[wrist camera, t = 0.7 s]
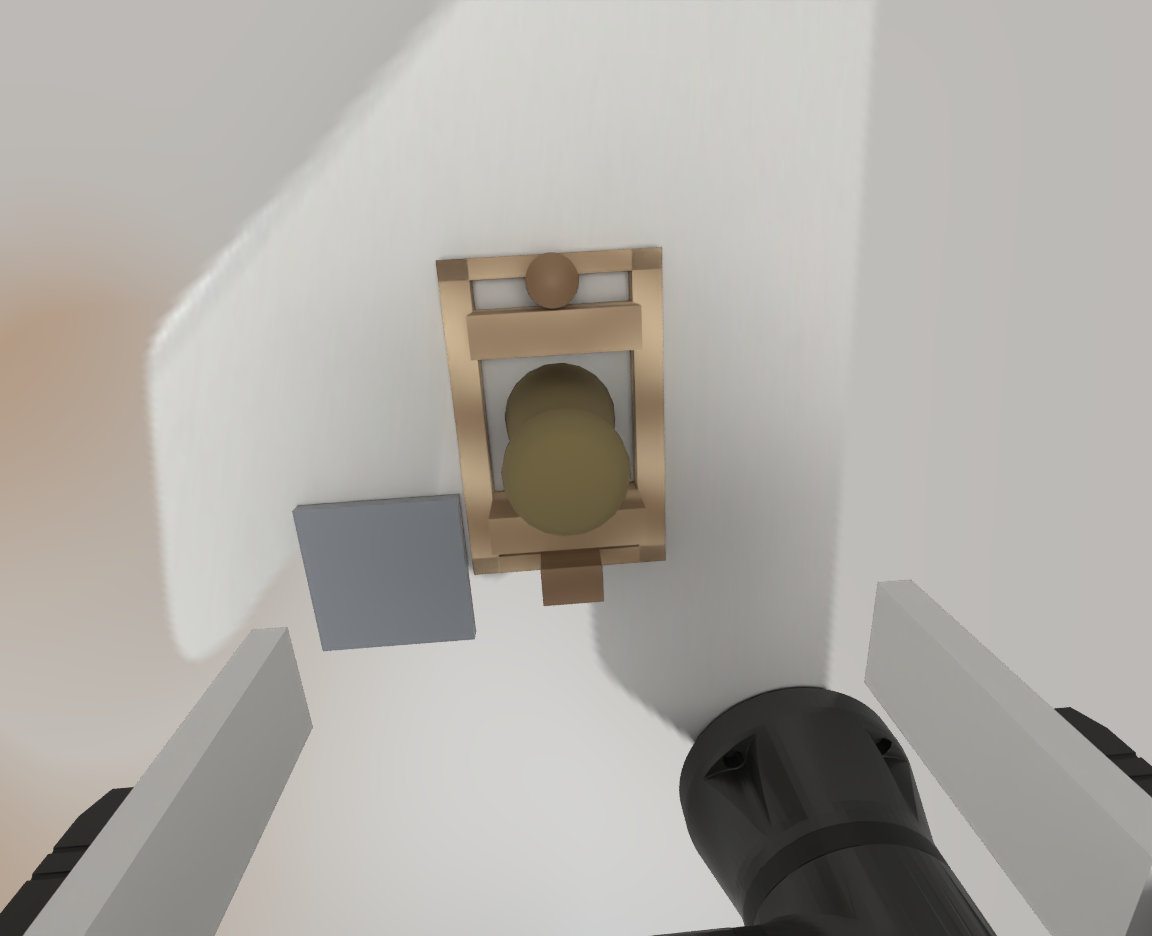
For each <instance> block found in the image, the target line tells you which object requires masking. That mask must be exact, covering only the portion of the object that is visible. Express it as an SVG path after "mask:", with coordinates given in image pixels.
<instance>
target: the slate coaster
mask: <svg viewBox="0 0 1152 936" xmlns="http://www.w3.org/2000/svg"><path fill="white" fill-rule="evenodd" d="M292 512H293V517H294V522H295V526H296V531H297V535H298V540H299V544H300V549H301V553H302V558H303V563H304V567H305V571H306V576H307V581H308V585H309V590H310V595H311V599H312V603H313V608H314V612H315V617H316V622H317V627H318V631H319V636H320V640H321V645H322V649H323V651H331V650H343V649H356V648H369V647H382V646H395V645H407V644H420V643H432V642H444V641H445V642H446V641H458V640H471V639H475V634H476V628H475V621H474V612H473V604H472V596H471V588H470V580H469V572H468V564H467V556H466V548H465V540H464V532H463V524H462V516H461V508H460V500H459V494H455V495H441V496H427V497H413V498H399V499H385V500H371V501H357V502H343V503H329V504H315V505H301V506H297V507H296V508H295V509H294V510H293V511H292Z"/></svg>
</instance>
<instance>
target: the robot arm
mask: <svg viewBox="0 0 1152 936" xmlns="http://www.w3.org/2000/svg"><path fill="white" fill-rule="evenodd" d="M865 684H866V685H867V686H868V688H869V689H870V691H871V692H872V693H873V695H874V696H875V697H876V699H877V700H878V701H879V703H880V704H881V705H882V707H883V708H884V709H885V711H886V712H887V713H888V715H889V716H890V717H891V719H892V720H893V722H894V723H895V724H896V726H897V727H898V728H899V730H900V731H901V732H902V734H903V735H904V737H905V738H906V739H907V741H908V742H909V743H910V745H911V746H912V747H913V749H914V750H915V751H916V753H917V754H918V755H919V757H920V758H921V759H922V761H923V762H924V764H925V765H926V766H927V768H928V769H929V770H930V772H931V773H932V774H933V776H934V777H935V778H936V780H937V781H938V783H939V784H940V785H941V787H942V788H943V789H944V791H945V792H946V793H947V795H948V796H949V797H950V799H951V800H952V801H953V803H954V804H955V806H956V807H957V808H958V810H959V811H960V812H961V814H962V815H963V816H964V818H965V819H966V820H967V821H968V823H969V824H970V826H971V827H972V829H973V830H974V831H975V833H976V834H977V835H978V836H979V838H980V839H981V841H982V842H983V843H984V845H985V846H986V847H987V849H988V850H989V852H990V853H991V854H992V856H993V857H994V858H995V859H996V861H997V862H998V864H999V865H1000V866H1001V868H1002V869H1003V870H1004V872H1005V873H1006V874H1007V876H1008V877H1009V878H1010V880H1011V881H1012V883H1013V884H1014V885H1015V887H1016V888H1017V889H1018V891H1019V892H1020V893H1021V895H1022V896H1023V897H1024V899H1025V900H1026V901H1027V903H1028V904H1029V905H1030V907H1031V908H1032V910H1033V911H1034V912H1035V914H1036V915H1037V916H1038V918H1039V919H1040V920H1041V922H1042V923H1043V925H1044V926H1045V927H1046V929H1047V930H1048V931H1049V933H1050V934H1051V935H1052V936H1152V766H1151V765H1150V764H1148V763H1147V762H1146V761H1145V760H1144V759H1143V758H1138V757H1137V756H1136V752H1134V751H1133V750H1132V749H1131V748H1130V747H1128V746H1127V745H1126V744H1125V743H1124V742H1123V741H1122V740H1120V739H1119V738H1118V737H1117V736H1116V735H1115V734H1113V733H1112V732H1111V731H1110V730H1109V729H1108V728H1106V727H1104V726H1103V725H1101V724H1099V723H1097V722H1096V721H1094V720H1092V719H1090V718H1089V717H1087V716H1085V715H1083V714H1082V713H1080V712H1078V711H1076V710H1074V709H1072V708H1071V707H1067V708H1055V709H1053V708H1052V707H1051V706H1050V705H1049V704H1048V703H1047V702H1045V701H1044V700H1043V699H1042V698H1041V697H1040V696H1039V695H1038V694H1037V693H1036V692H1034V691H1033V690H1032V689H1031V688H1030V687H1029V686H1028V685H1027V684H1026V683H1025V682H1023V681H1022V680H1021V679H1020V678H1019V677H1018V676H1017V675H1016V674H1015V673H1013V672H1012V671H1011V670H1010V669H1009V668H1008V667H1007V666H1006V665H1004V663H1002V662H1001V661H1000V660H999V659H998V658H997V657H996V656H995V655H994V654H993V653H991V652H990V651H989V650H988V649H987V648H986V647H985V646H984V645H982V644H981V643H980V642H979V641H978V640H977V639H976V638H975V637H974V636H972V634H970V633H969V632H968V631H967V630H966V629H965V628H964V627H963V626H962V625H960V624H959V623H958V622H957V621H956V620H955V619H954V618H953V617H951V615H949V614H948V613H947V612H946V611H945V610H944V609H942V607H941V606H940V605H938V604H937V603H936V602H935V601H934V600H933V599H932V598H931V597H929V596H928V595H927V594H926V593H925V592H924V591H923V590H922V589H921V588H920V587H919V586H917V585H916V584H915V583H914V582H913V581H912V580H901V581H888V582H878V584H877V592H876V599H875V607H874V614H873V622H872V629H871V637H870V644H869V652H868V659H867V667H866V674H865ZM312 728H313V726H312V722H311V718H310V714H309V710H308V706H307V702H306V698H305V695H304V690H303V686H302V682H301V678H300V674H299V671H298V666H297V663H296V659H295V655H294V651H293V647H292V643H291V639H290V635H289V631H288V627H281V628H267V629H254V630H251V632H250V633H249V634H248V636H247V637H246V638H245V640H244V641H243V642H242V644H241V645H240V646H239V648H238V649H237V650H236V652H235V653H234V654H233V656H232V657H231V658H230V660H229V661H228V662H227V664H226V665H225V666H224V668H223V669H222V670H221V672H220V673H219V674H218V676H217V677H216V678H215V680H214V681H213V682H212V684H211V685H210V686H209V688H208V689H207V690H206V692H205V693H204V694H203V696H202V697H201V698H200V700H199V701H198V702H197V704H196V705H195V706H194V708H193V709H192V710H191V712H190V713H189V715H188V716H187V717H186V718H185V720H184V721H183V722H182V724H181V725H180V726H179V728H178V729H177V730H176V732H175V733H174V734H173V736H172V737H171V738H170V740H169V741H168V742H167V744H166V745H165V746H164V748H163V749H162V751H161V752H160V753H159V755H158V756H157V757H156V758H155V760H154V761H153V763H152V764H151V765H150V766H149V768H148V769H147V770H146V772H145V773H144V775H143V776H142V777H141V778H140V780H139V781H138V782H137V784H136V785H135V786H134V787H130V788H120V789H119V788H118V789H112V790H111V791H109V792H108V793H107V794H106V795H104V796H103V797H102V798H101V799H100V800H98V801H97V802H96V803H95V804H93V805H92V806H91V807H90V808H88V809H87V810H86V811H85V812H84V813H82V814H81V815H80V816H79V817H78V818H77V819H76V820H75V822H74V823H73V824H72V825H71V827H70V828H69V829H68V830H67V831H66V833H65V834H64V835H63V837H62V838H61V839H60V840H59V841H58V843H57V844H56V845H55V846H54V848H53V849H54V850H53V852H52V854H48V855H47V856H46V858H45V859H44V860H43V861H42V862H41V864H40V865H39V866H38V867H37V869H36V870H35V871H34V872H33V874H32V879H31V880H30V881H26V882H25V884H24V885H23V886H22V887H21V889H20V890H19V891H18V893H16V895H15V896H14V897H13V898H12V900H11V901H10V902H9V903H8V905H7V906H6V907H5V908H4V910H3V911H2V912H1V913H0V936H215V934H216V931H217V929H218V927H219V925H220V923H221V921H222V919H223V917H224V914H225V912H226V910H227V908H228V906H229V904H230V902H231V900H232V897H233V895H234V893H235V891H236V889H237V887H238V885H239V883H240V880H241V878H242V876H243V874H244V872H245V870H246V868H247V866H248V863H249V861H250V859H251V857H252V855H253V853H254V851H255V849H256V846H257V844H258V842H259V840H260V838H261V836H262V834H263V832H264V829H265V827H266V825H267V823H268V821H269V819H270V817H271V815H272V812H273V810H274V808H275V806H276V804H277V802H278V800H279V798H280V796H281V794H282V791H283V789H284V787H285V785H286V783H287V781H288V779H289V777H290V774H291V772H292V770H293V768H294V766H295V764H296V762H297V759H298V757H299V755H300V753H301V751H302V749H303V747H304V745H305V742H306V740H307V738H308V736H309V734H310V732H311V730H312ZM679 791H680V801H681V805H682V809H683V813H684V817H685V821H686V824H687V828H688V832H689V835H690V837H691V839H692V842H693V844H694V846H695V848H696V849H697V851H698V853H699V854H700V856H701V857H702V859H703V860H704V862H705V863H706V865H707V866H708V868H709V869H710V871H711V872H712V874H713V875H714V877H715V878H716V880H717V881H718V883H719V884H720V885H721V887H722V889H723V890H724V891H725V893H726V894H727V896H728V897H729V899H730V900H731V902H732V903H733V905H734V906H735V907H736V909H737V911H738V912H739V914H740V915H741V917H742V919H743V922H744V925H745V926H744V927H736V928H719V929H710V930H701V931H691V932H682V933H673V934H664V935H654V936H997V935H996V934H995V932H994V931H993V929H992V928H991V926H990V925H989V923H988V922H987V921H986V919H985V918H984V916H983V915H982V913H981V912H980V910H979V909H978V907H977V906H976V905H975V903H974V902H973V900H972V899H971V897H970V896H969V894H968V893H967V891H966V890H965V889H964V887H963V886H962V884H961V883H960V881H959V880H958V878H957V877H956V876H955V874H954V873H953V871H952V870H951V868H950V867H949V866H948V864H947V862H946V861H945V859H944V858H943V856H942V855H941V854H940V852H939V850H938V849H937V847H936V846H935V844H934V842H933V839H932V836H931V832H930V829H929V826H928V822H927V819H926V816H925V812H924V809H923V806H922V802H921V799H920V796H919V792H918V789H917V786H916V782H915V779H914V776H913V772H912V769H911V766H910V763H909V760H908V758H907V756H906V754H905V752H904V750H903V748H902V747H901V745H900V744H899V742H898V741H897V739H896V738H895V737H894V736H893V734H892V733H891V731H890V730H889V729H888V727H887V726H886V725H885V723H884V722H883V721H882V720H881V718H880V717H879V716H878V715H877V714H876V713H875V712H874V711H873V710H871V709H870V708H869V707H868V706H866V705H865V704H863V703H862V702H860V701H858V700H856V699H854V698H852V697H850V696H847V695H845V694H842V693H839V692H835V691H831V690H825V689H817V688H793V689H785V690H779V691H774V692H770V693H767V694H763V695H760V696H757V697H755V698H752V699H750V700H747V701H745V702H743V703H741V704H739V705H737V706H736V707H734V708H732V709H730V710H729V711H727V712H726V713H724V714H723V715H722V716H720V717H719V718H718V719H716V720H715V721H714V722H713V723H712V724H711V725H710V726H709V727H708V728H707V729H706V730H705V731H704V732H703V733H702V734H701V735H700V737H699V738H698V739H697V741H696V742H695V743H694V745H693V746H692V748H691V750H690V752H689V754H688V756H687V757H686V760H685V762H684V765H683V768H682V772H681V776H680V786H679Z"/></svg>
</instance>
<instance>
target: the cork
mask: <svg viewBox="0 0 1152 936" xmlns="http://www.w3.org/2000/svg"><path fill="white" fill-rule="evenodd" d="M505 421H506V428H507V434H508V437H509V440H510V442H509V444H508V446H507V448H506V451H505V455H504V461H503V466H502V471H501V473H502V480H503V486H504V492H505V494H506V495H507V497H508V499H509V501H510V503H511V505H512V507H513V509H514V510H515V512H516V513H517V514H518V515H519V516H520V517H521V518H522V519H523V520H524V521H525V522H526V523H527V524H528V525H530V526H532V527H534V528H536V529H538V530H540V531H542V532H544V533H548V534H554V535H559V536H571V535H580V534H584V533H587V532H589V531H591V530H594V529H596V528H598V527H601V526H602V525H603V524H604V523H605V522H607V521H608V520H609V519H610V518H611V517H613V516H614V515H615V514H616V512H617V511H618V509H619V507H620V506H621V504H622V503H623V501H624V499H625V497H626V494H627V490H628V486H629V482H630V478H631V471H630V459H629V455H628V453H627V451H626V448H625V446H624V444H623V442H622V439H621V437H620V436H619V434H618V433H617V432H616V431H615V430H614V426H615V416H614V404H613V401H612V399H611V397H610V394H609V392H608V390H607V388H606V387H605V386H604V384H603V383H602V382H601V381H600V380H599V379H598V378H597V377H596V376H595V375H594V374H592V373H591V372H589V371H587V370H585V369H584V368H582V367H580V366H575V365H571V364H566V363H557V364H548V365H544V366H541V367H539V368H537V369H535V370H533V371H530V372H529V373H528V374H526V375H525V376H524V377H523V378H522V379H521V380H520V381H519V382H518V383H517V384H516V385H515V387H514V389H513V391H512V392H511V394H510V396H509V398H508V401H507V406H506V412H505Z"/></svg>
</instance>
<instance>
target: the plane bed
mask: <svg viewBox="0 0 1152 936" xmlns="http://www.w3.org/2000/svg"><path fill="white" fill-rule="evenodd" d="M436 267H437V275H438V284H439V292H440V300H441V308H442V316H443V324H444V333H445V341H446V349H447V357H448V365H449V374H450V382H451V390H452V398H453V406H454V415H455V423H456V431H457V439H458V447H459V455H460V464H461V472H462V480H463V488H464V496H465V505H466V513H467V521H468V529H469V537H470V545H471V554H472V562H473V570H474V575H478V574H491V573H504V572H518V571H531V570H541V580H542V592H543V604H544V606H550V605H564V604H576V603H589V602H602V601H604V592H603V571H602V565H611V564H624V563H637V562H651V561H664V560H666V552H665V465H664V379H663V292H662V247H655V248H638V249H622V250H605V251H588V252H571V253H545V254H537V255H520V256H503V257H486V258H469V259H452V260H436ZM614 271H629V297H630V301H614V302H598V303H582V304H568V303H569V302H570V301H571V300H572V299H573V297H574V296H575V294H576V292H577V289H578V284H579V277H578V274H581V273H598V272H614ZM515 277H525V284H526V289H527V292H528V294H529V295H530V297H531V298H532V300H533V301H534V302H536V303H537V304H538V305H540V306H534V307H517V308H501V309H485V310H475V305H474V295H473V286H472V280H481V279H498V278H515ZM626 350H631V369H632V404H633V440H634V476H635V482H629V486H628V490H627V494H626V497H625V499H624V501H623V503H622V504H621V506H620V507H619V509H618V511H617V512H616V514H615V515H614V516H613V517H611V518H610V519H609V520H608V521H607V522H605V523H604V524H603V525H602V526H601V527H598V528H596V529H594V530H591V531H589V532H587V533H584V534H580V535H571V536H559V535H554V534H548V533H544V532H542V531H540V530H538V529H536V528H534V527H532V526H530V525H528V524H527V523H526V522H525V521H524V520H523V519H522V518H521V517H520V516H519V515H518V514H517V513H516V512H515V510H514V509H513V507H512V505H511V503H510V501H509V499H508V497H507V495H506V494H505V492H504V491H498V492H494V485H493V476H492V466H491V457H490V447H489V438H488V428H487V419H486V409H485V400H484V390H483V381H482V371H481V362H480V360H486V359H502V358H518V357H533V356H549V355H564V354H580V353H595V352H611V351H626Z"/></svg>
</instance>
